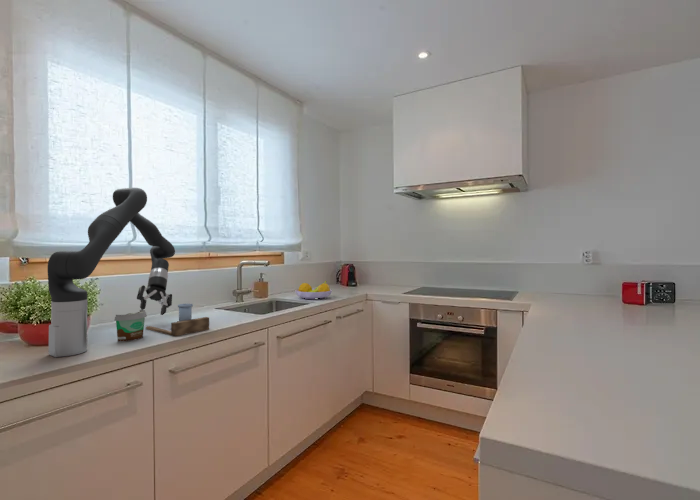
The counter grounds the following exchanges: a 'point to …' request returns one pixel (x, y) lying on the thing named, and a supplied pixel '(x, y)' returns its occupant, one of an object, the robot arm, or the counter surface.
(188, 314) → the block
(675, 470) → the counter surface
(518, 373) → the counter surface
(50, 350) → the robot arm
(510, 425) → the counter surface
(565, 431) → the counter surface
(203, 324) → the channel
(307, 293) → the fruit bowl
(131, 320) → the food container
